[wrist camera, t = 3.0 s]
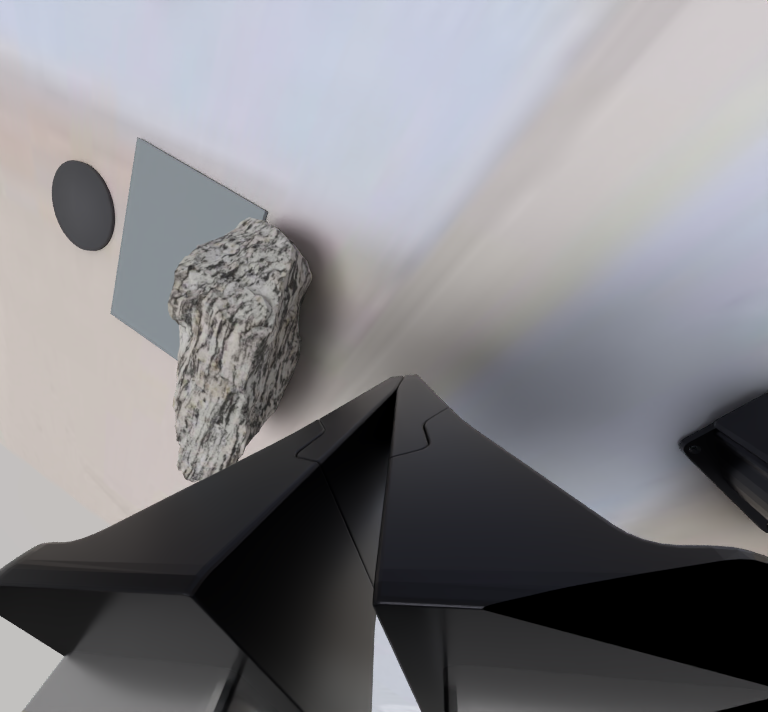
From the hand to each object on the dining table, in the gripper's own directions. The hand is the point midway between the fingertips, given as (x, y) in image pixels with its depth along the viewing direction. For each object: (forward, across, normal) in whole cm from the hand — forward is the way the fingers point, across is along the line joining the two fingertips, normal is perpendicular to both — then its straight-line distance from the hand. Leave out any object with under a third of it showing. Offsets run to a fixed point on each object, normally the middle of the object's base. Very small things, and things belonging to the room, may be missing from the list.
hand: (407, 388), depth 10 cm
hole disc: (+18, -28, +10) cm, 34 cm away
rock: (+12, -11, -2) cm, 17 cm away
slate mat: (+15, -19, +4) cm, 24 cm away
